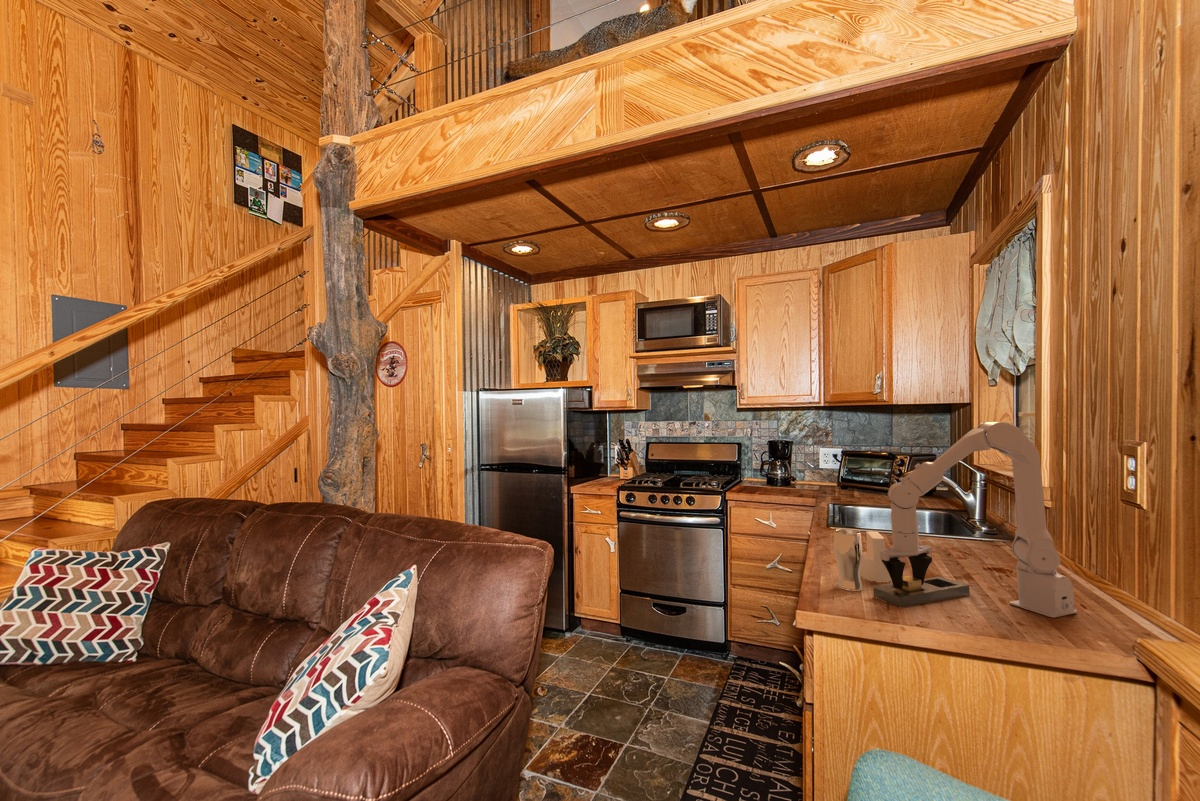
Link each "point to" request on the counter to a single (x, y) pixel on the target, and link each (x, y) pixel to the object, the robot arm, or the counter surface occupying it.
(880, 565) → the cylinder with rectangular tab
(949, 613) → the counter surface
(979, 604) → the counter surface
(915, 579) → the golden brown block
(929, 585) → the grey slotted board
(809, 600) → the counter surface
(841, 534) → the beer glass
